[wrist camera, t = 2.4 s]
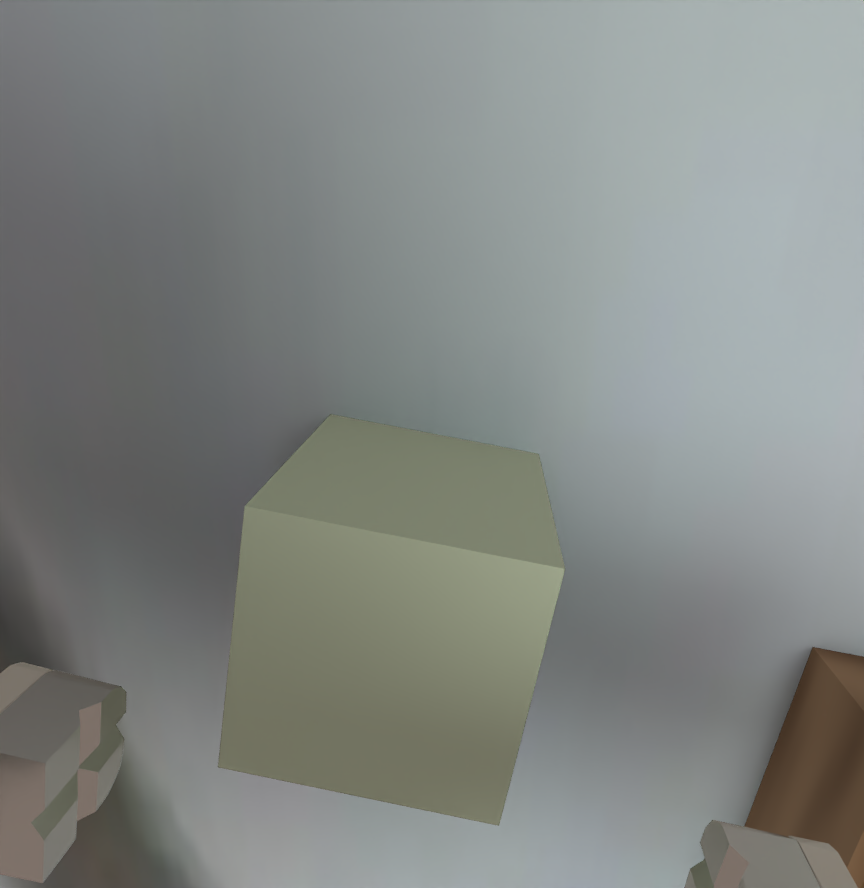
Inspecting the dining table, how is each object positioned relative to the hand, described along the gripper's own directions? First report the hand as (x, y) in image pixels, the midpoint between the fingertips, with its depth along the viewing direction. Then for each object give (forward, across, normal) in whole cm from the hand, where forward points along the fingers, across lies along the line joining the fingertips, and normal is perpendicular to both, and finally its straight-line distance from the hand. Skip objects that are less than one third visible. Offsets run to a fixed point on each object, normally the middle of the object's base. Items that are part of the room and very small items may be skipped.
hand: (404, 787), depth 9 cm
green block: (+8, +1, 0) cm, 8 cm away
